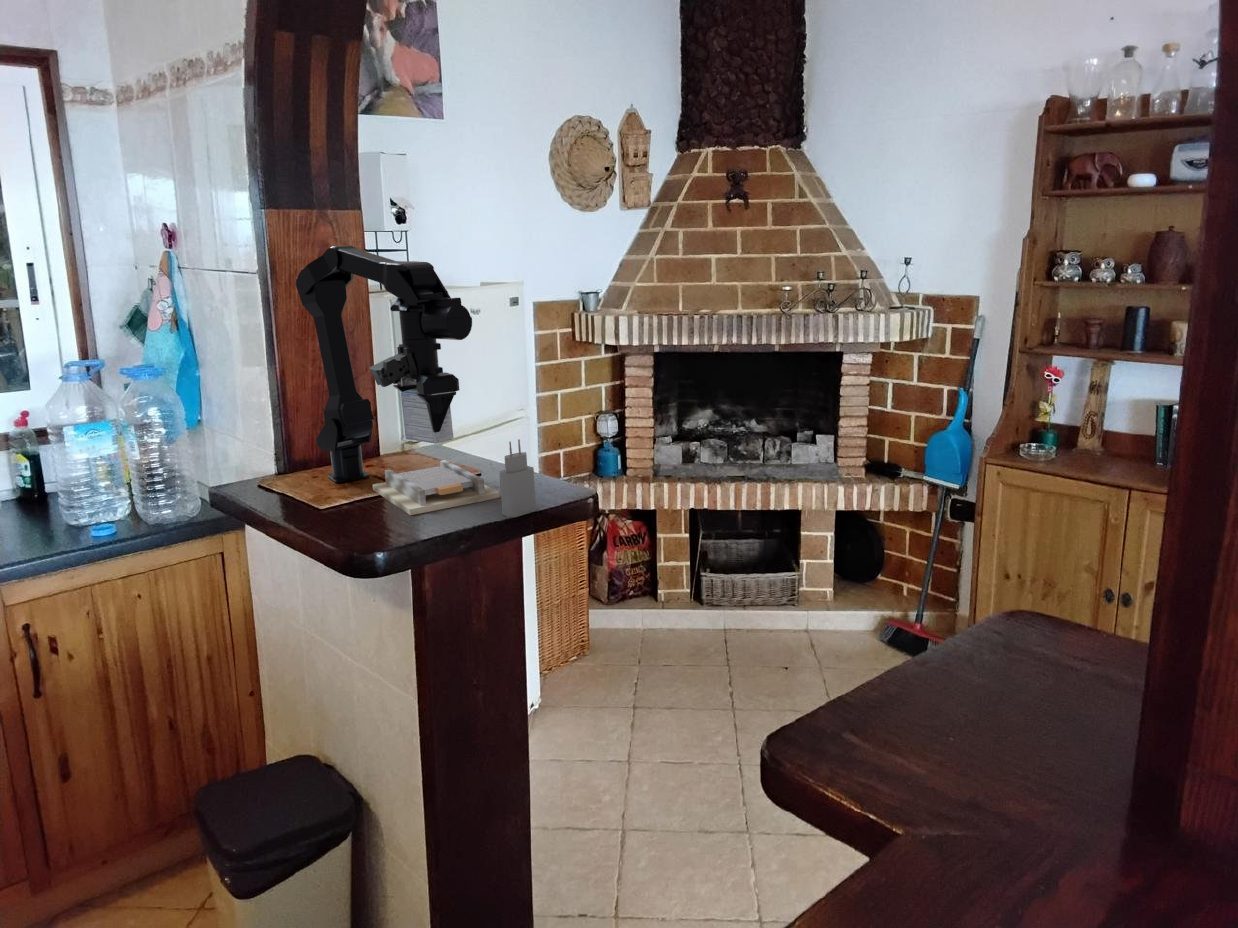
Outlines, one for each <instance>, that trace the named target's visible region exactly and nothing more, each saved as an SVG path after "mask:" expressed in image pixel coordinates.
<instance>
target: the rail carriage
mask: <svg viewBox="0 0 1238 928" xmlns="http://www.w3.org/2000/svg"><path fill="white" fill-rule="evenodd" d="M397 474H399V475H400V476H402V477H404V478H405V479H407V480H409V481H410V482H412V483H414V484H415V485H417V486H419V487H420V488H422V489H424V490H425V495H430V494H436V493H438V494H439V495H444V494H450V493H455V492H460V491H463V488H468V487H473V482H472V480H470V479H468V478H466V477H464V476H462V475H460V474H458V473H456V472H454V471H452V470H450V469H448V468H446V467H444V466H440V465H439V466H434V467H433V466H432V467H427V468H423V469H422V468H421V469H417V470H416V469H415V470H411V471H409V470H408V471H405V472H399V473H397Z"/></svg>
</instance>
